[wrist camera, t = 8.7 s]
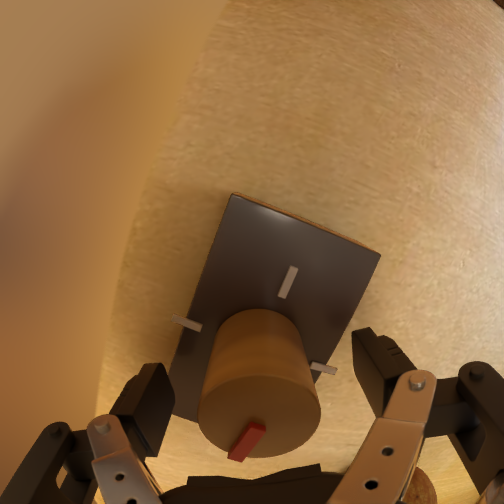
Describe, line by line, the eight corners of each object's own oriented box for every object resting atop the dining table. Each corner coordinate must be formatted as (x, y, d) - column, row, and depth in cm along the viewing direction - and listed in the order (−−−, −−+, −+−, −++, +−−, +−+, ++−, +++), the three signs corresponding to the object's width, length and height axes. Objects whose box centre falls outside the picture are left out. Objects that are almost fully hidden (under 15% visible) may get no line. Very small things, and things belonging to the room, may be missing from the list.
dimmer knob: (235, 293, 13) (223, 360, 8) (317, 328, 13) (347, 402, 8) (201, 364, 14) (179, 443, 9) (277, 392, 14) (285, 473, 9)
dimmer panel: (224, 187, 15) (217, 187, 12) (369, 246, 16) (394, 260, 12) (160, 375, 17) (146, 406, 14) (281, 414, 18) (285, 448, 15)
